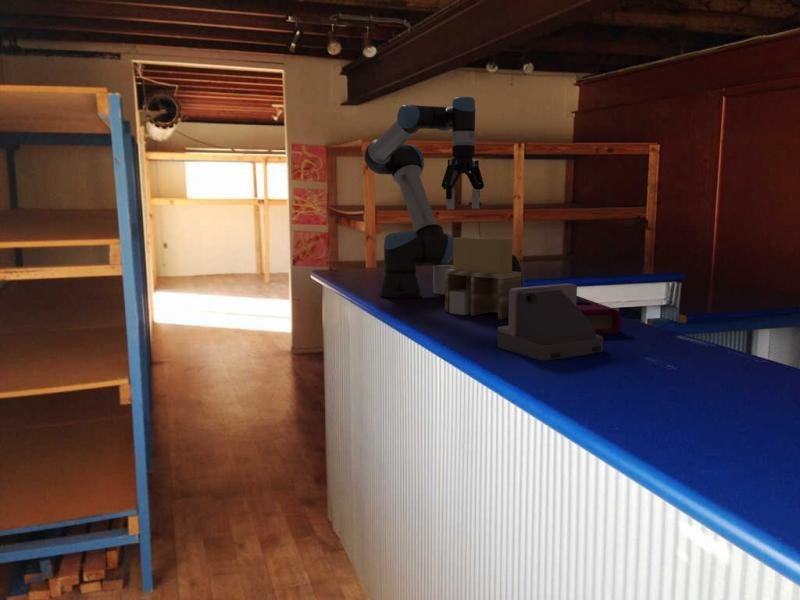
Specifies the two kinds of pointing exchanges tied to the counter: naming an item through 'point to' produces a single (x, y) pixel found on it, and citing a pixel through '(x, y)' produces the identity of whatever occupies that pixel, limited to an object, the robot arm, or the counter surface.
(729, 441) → the counter surface
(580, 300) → the book
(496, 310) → the shelf unit
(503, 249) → the box
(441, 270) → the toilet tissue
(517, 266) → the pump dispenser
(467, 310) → the box
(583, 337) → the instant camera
